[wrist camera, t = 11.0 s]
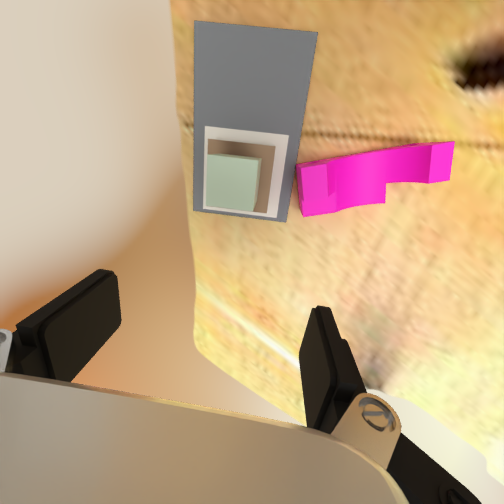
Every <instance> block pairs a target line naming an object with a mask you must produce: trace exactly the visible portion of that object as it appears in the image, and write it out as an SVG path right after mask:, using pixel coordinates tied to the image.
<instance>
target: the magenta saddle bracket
mask: <svg viewBox="0 0 504 504" xmlns="http://www.w3.org/2000/svg"><path fill="white" fill-rule="evenodd" d="M454 143H455V141H452V142H430V143H413V144H408V145H402V146H396V147H391V148H385V149H379V150H374V151H368V152H363V153H357V154H351V155H346V156H340V157H334V158H329V159H323V160H318V161H312V162H306V163H301V164H296V174H297V184H298V194H299V204H300V210H301V213H302V215H303V217H307V216H314V215H321V214H328V213H334V212H338V211H340V210H343V209H346V208H350V207H354V206H360V205H367V204H377V203H385V194H386V183H393V182H419V183H435V182H442V181H448V180H450V173H451V165H452V158H453V150H454Z"/></svg>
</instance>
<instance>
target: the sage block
mask: <svg viewBox="0 0 504 504" xmlns="http://www.w3.org/2000/svg"><path fill="white" fill-rule="evenodd" d="M261 161H262V158H254V157H246V156H237V155H229V154H221V153H220V154H207V179H206V206H213V207H221V208H228V209H236V210H244V211H252V212H253V210H254V207H255V204H256V202H257V195H258V187H259V178H260V169H261Z"/></svg>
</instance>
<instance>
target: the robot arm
mask: <svg viewBox="0 0 504 504" xmlns="http://www.w3.org/2000/svg"><path fill="white" fill-rule="evenodd" d="M120 324H121V310H120V300H119V290H118V280H117V276H116V275H115V274H114V272H113V271H109V270H103V269H98V270H96V271H95V272H93V273H92V274H90V275H89V276H88V277H86V278H85V279H83V280H82V281H80V282H79V283H77V284H76V285H74V286H73V287H71V288H70V289H68V290H67V291H65V292H64V293H62V294H61V295H59V296H58V297H56V298H55V299H53V300H52V301H50V302H49V303H47V304H46V305H45V306H43V307H42V308H40V309H39V310H37V311H36V312H34V313H33V314H31V315H30V316H28V317H27V318H25V319H24V320H22V321H21V322H19V323H18V324H17V325H16V328H17V330H16V331H15V332H13V333H11V332H10V331H9V330H5V329H0V504H481V502H480V501H479V500H478V499H477V497H475V496H474V495H473V494H472V493H471V492H470V491H469V490H468V489H467V488H466V487H465V486H464V485H462V484H461V483H460V482H459V481H458V480H456V479H455V478H454V477H453V476H452V475H451V474H449V473H448V472H447V471H446V470H445V469H444V468H442V467H441V466H440V465H439V464H438V463H436V462H435V461H434V460H433V459H431V458H430V457H429V456H428V455H427V454H426V453H425V452H424V451H422V450H421V449H420V448H419V447H417V446H416V445H415V444H414V443H413V442H412V441H410V440H409V439H408V438H407V437H406V436H405V435H403V434H402V433H401V423H400V419H399V417H398V415H397V414H396V412H395V411H394V409H393V408H392V407H391V406H390V405H389V404H388V403H387V402H385V401H384V400H383V399H381V398H379V397H378V396H376V395H373V394H370V393H367V392H366V389H365V386H364V383H363V381H362V378H361V376H360V373H359V370H358V368H357V365H356V363H355V360H354V357H353V355H352V352H351V349H350V347H349V344H348V342H347V341H346V340H345V339H341V336H340V334H339V331H338V328H337V325H336V322H335V319H334V317H333V314H332V311H331V309H330V308H329V307H324V306H317V307H316V308H312V310H311V314H310V317H309V320H308V324H307V327H306V331H305V334H304V337H303V341H302V344H301V348H300V351H299V363H300V371H301V380H302V388H303V397H304V405H305V414H306V422H307V427H304V426H300V425H297V424H292V423H288V422H282V421H277V420H273V419H268V418H263V417H258V416H254V415H248V414H242V413H238V412H232V411H226V410H221V409H216V408H210V407H205V406H199V405H195V404H189V403H184V402H178V401H173V400H167V399H162V398H156V397H150V396H145V395H139V394H134V393H128V392H123V391H117V390H111V389H106V388H100V387H93V386H88V385H83V384H77V383H71V381H72V380H73V379H74V378H75V376H76V375H77V374H78V373H79V372H80V371H81V370H82V368H83V367H84V366H85V365H86V364H87V363H88V362H89V361H90V359H91V358H92V357H93V356H94V355H95V354H96V352H97V351H98V350H99V349H100V348H101V347H102V346H103V345H104V344H105V342H106V341H107V340H108V339H109V338H110V337H111V336H112V334H113V333H114V332H115V331H116V330H117V329H118V328H119V326H120Z"/></svg>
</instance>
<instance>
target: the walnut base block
mask: <svg viewBox="0 0 504 504" xmlns="http://www.w3.org/2000/svg"><path fill="white" fill-rule="evenodd" d="M275 148H276V146H268V145H260V144H251V143H242V142H233V141H225V140H216V139H208V154H220V153H221V154H229V155H237V156H246V157H254V158H262V161H261V169H260V178H259V187H258V195H257V202H256V204H255V207H254V210H253V212H259V213H267V208H268V201H269V193H270V186H271V178H272V171H273V163H274V155H275ZM211 207H213V206H211ZM219 208H221V207H219ZM227 209H228V208H227ZM235 210H236V209H235ZM243 211H244V210H243ZM251 212H252V211H251Z"/></svg>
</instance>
